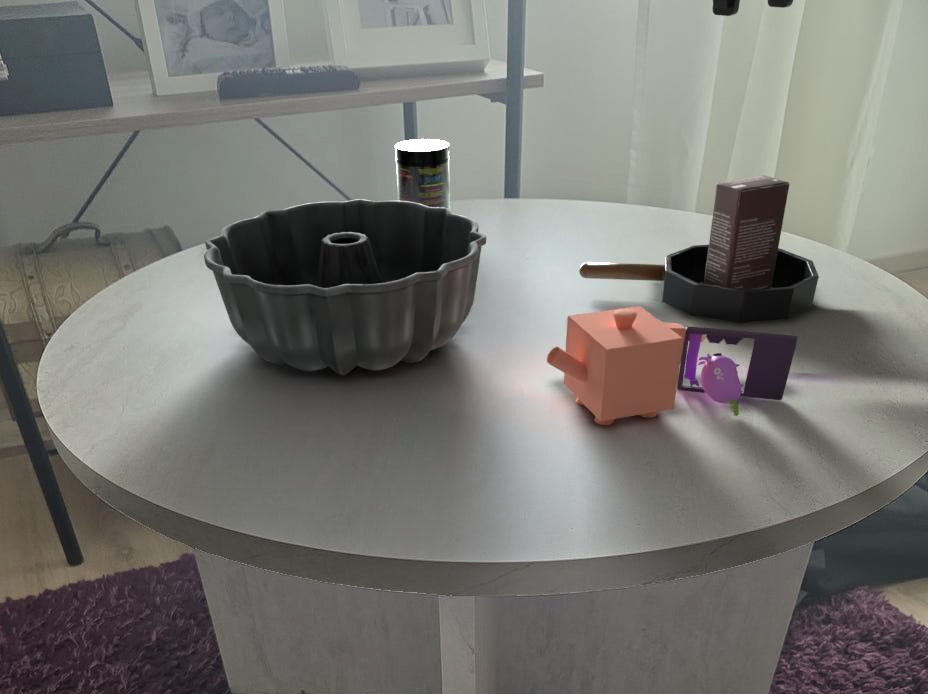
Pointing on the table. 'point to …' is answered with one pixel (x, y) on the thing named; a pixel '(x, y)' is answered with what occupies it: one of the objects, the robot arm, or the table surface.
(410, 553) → the table surface
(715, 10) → the robot arm
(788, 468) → the table surface
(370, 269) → the bundt pan
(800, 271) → the frying pan
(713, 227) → the box
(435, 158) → the supplement container
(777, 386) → the purple frame figurine
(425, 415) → the table surface
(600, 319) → the pink cube teapot
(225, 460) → the table surface
